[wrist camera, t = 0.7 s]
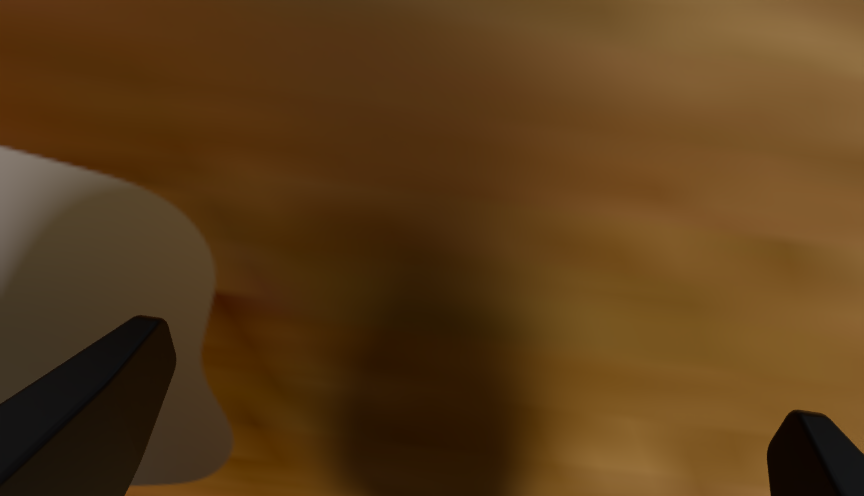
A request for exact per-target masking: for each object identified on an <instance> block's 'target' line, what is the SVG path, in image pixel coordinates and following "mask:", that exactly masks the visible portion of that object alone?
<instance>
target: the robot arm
mask: <svg viewBox="0 0 864 496" xmlns="http://www.w3.org/2000/svg"><path fill="white" fill-rule="evenodd" d="M175 366H176V353H175V349H174V346H173V342H172V338H171V334H170V331H169V327H168V324H167V322H166V321H165V320H164V319H162V318H158V317H151V316H143V315H138V316H135V317H133V318H131V319H129V320H128V321H126V322H125V323H124V324H122V325H120V326H119V327H117V328H116V329H114V330H112V331H111V332H109V333H108V334H106V335H105V336H103V337H102V338H100V339H99V340H97V341H96V342H94V343H93V344H91V345H90V346H88V347H86V348H85V349H83V350H82V351H80V352H79V353H77V354H76V355H74V356H73V357H71V358H70V359H68V360H67V361H65V362H64V363H62V364H61V365H59V366H57V367H56V368H55V369H53V370H51V371H50V372H48V373H47V374H45V375H44V376H42V377H41V378H39V379H38V380H36V381H35V382H33V383H31V384H30V385H28V386H27V387H25V388H24V389H22V390H21V391H19V392H18V393H16V394H15V395H13V396H12V397H10V398H9V399H7V400H6V401H4V402H2V403H1V404H0V496H124V495H125V493H126V491H127V489H128V487H129V485H130V483H131V481H132V479H133V477H134V475H135V473H136V471H137V469H138V466H139V464H140V462H141V460H142V457H143V455H144V452H145V450H146V447H147V444H148V442H149V439H150V436H151V433H152V430H153V428H154V425H155V423H156V420H157V417H158V414H159V411H160V409H161V406H162V403H163V400H164V398H165V395H166V393H167V390H168V387H169V384H170V382H171V379H172V376H173V373H174V370H175ZM767 464H768V474H769V483H770V493H771V496H864V454H863V453H862V452H861V451H860V450H859V449H858V448H857V447H856V446H855V445H854V444H853V443H852V442H851V440H850V439H849V438H848V437H847V436H846V435H845V434H844V433H843V432H842V431H841V430H840V429H839V428H838V427H837V426H836V425H835V424H834V423H833V421H832V420H831V419H829V418H828V417H827V416H826V415H824V414H822V413H817V412H810V411H804V410H793V411H791V412H790V413H789V414H788V415H787V416H786V418H785V419H784V421H783V423H782V424H781V426H780V427H779V429H778V431H777V432H776V434H775V435H774V437H773V438H772V440H771V442H770V444H769V447H768V451H767Z"/></svg>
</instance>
